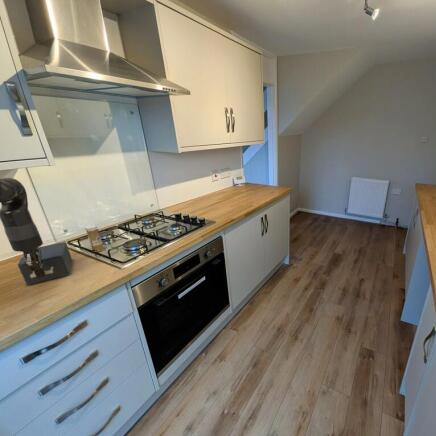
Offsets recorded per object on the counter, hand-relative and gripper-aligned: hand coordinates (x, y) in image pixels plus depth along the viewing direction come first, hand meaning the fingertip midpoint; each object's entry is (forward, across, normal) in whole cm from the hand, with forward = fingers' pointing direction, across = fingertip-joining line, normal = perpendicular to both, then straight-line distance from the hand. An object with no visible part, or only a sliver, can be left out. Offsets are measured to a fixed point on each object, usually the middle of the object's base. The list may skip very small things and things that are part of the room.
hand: (41, 276), depth 90 cm
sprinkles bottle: (+6, -26, +16) cm, 31 cm away
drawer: (+5, -10, 0) cm, 11 cm away
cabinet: (+6, -14, 0) cm, 15 cm away
